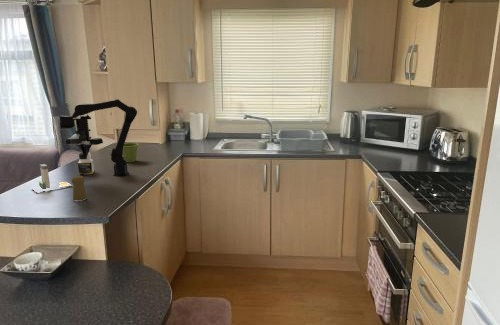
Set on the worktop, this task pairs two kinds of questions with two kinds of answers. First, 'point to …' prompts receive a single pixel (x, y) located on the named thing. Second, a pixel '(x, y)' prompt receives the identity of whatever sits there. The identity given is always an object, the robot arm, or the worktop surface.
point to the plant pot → (130, 152)
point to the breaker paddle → (45, 175)
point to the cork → (78, 188)
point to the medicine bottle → (85, 164)
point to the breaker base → (62, 184)
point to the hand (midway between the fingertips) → (85, 156)
